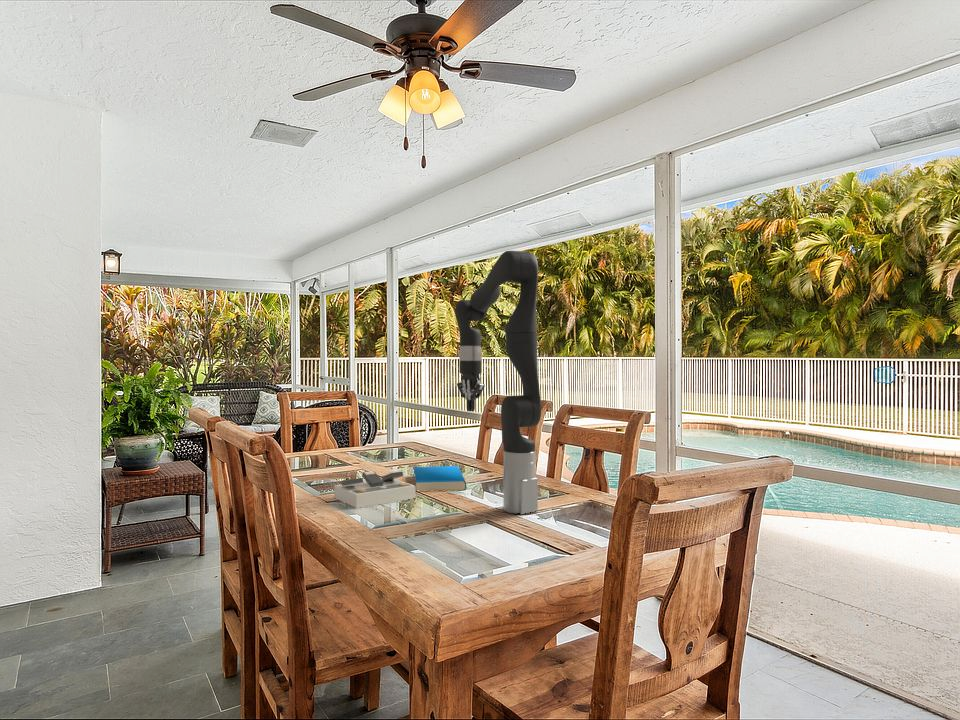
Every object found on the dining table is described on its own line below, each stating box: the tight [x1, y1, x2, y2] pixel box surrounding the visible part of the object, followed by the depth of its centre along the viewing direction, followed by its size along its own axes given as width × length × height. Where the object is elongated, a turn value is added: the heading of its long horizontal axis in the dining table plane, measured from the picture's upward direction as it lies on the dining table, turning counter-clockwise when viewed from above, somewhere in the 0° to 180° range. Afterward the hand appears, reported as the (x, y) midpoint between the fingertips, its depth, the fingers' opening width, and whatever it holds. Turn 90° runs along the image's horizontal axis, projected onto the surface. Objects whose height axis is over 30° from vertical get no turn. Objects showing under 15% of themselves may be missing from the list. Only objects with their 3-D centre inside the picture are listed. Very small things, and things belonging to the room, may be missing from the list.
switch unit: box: [333, 478, 417, 509], centre depth 187 cm, size 16×20×4 cm
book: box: [413, 465, 467, 492], centre depth 210 cm, size 17×4×25 cm
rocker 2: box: [361, 470, 384, 487], centre depth 188 cm, size 7×4×2 cm, turn 37°
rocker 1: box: [341, 477, 364, 486], centre depth 184 cm, size 7×4×2 cm, turn 37°
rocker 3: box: [381, 471, 404, 481], centre depth 192 cm, size 7×4×2 cm, turn 37°
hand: (470, 411), depth 200 cm, fingers closed
